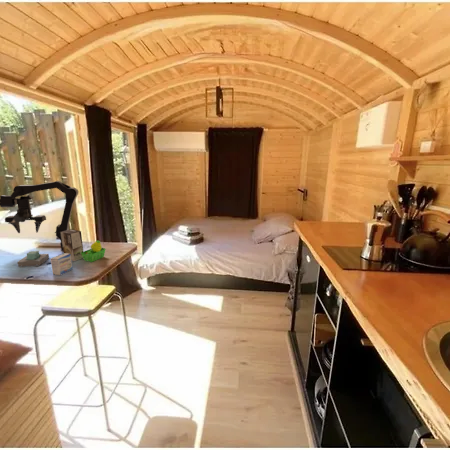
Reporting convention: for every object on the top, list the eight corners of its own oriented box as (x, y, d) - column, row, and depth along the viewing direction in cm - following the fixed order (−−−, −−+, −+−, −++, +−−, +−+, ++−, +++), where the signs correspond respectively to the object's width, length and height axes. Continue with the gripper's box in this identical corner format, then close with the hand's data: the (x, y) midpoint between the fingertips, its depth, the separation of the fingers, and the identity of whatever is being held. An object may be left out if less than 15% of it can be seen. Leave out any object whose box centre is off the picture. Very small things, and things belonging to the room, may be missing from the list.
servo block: (41, 259, 142) (40, 250, 141) (35, 264, 136) (33, 254, 134) (33, 259, 141) (32, 250, 140) (26, 264, 135) (25, 254, 133)
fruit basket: (97, 254, 152) (95, 236, 149) (108, 256, 149) (107, 238, 146) (81, 261, 141) (78, 242, 138) (93, 263, 138) (91, 244, 135)
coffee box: (84, 257, 146) (81, 231, 142) (74, 261, 141) (70, 233, 137) (74, 254, 150) (71, 228, 146) (63, 258, 144) (60, 231, 140)
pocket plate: (49, 257, 145) (48, 253, 144) (39, 265, 134) (39, 260, 134) (29, 258, 143) (28, 254, 142) (18, 266, 132) (17, 261, 132)
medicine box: (60, 275, 123) (57, 259, 121) (52, 274, 124) (50, 258, 122) (72, 269, 131) (70, 253, 129) (65, 268, 132) (63, 252, 129)
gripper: (-4, 209, 136) (1, 237, 140) (36, 209, 141) (40, 236, 144) (8, 206, 147) (12, 231, 150) (44, 205, 151) (48, 230, 155)
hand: (28, 232), depth 150 cm, fingers open, 9 cm apart
